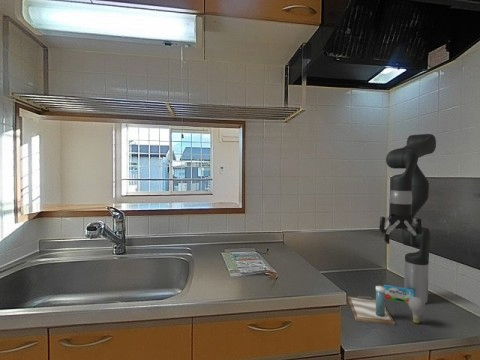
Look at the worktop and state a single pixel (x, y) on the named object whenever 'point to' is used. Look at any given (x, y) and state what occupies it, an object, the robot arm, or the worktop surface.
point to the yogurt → (398, 294)
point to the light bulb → (416, 308)
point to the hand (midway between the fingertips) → (399, 244)
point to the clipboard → (368, 310)
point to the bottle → (380, 301)
